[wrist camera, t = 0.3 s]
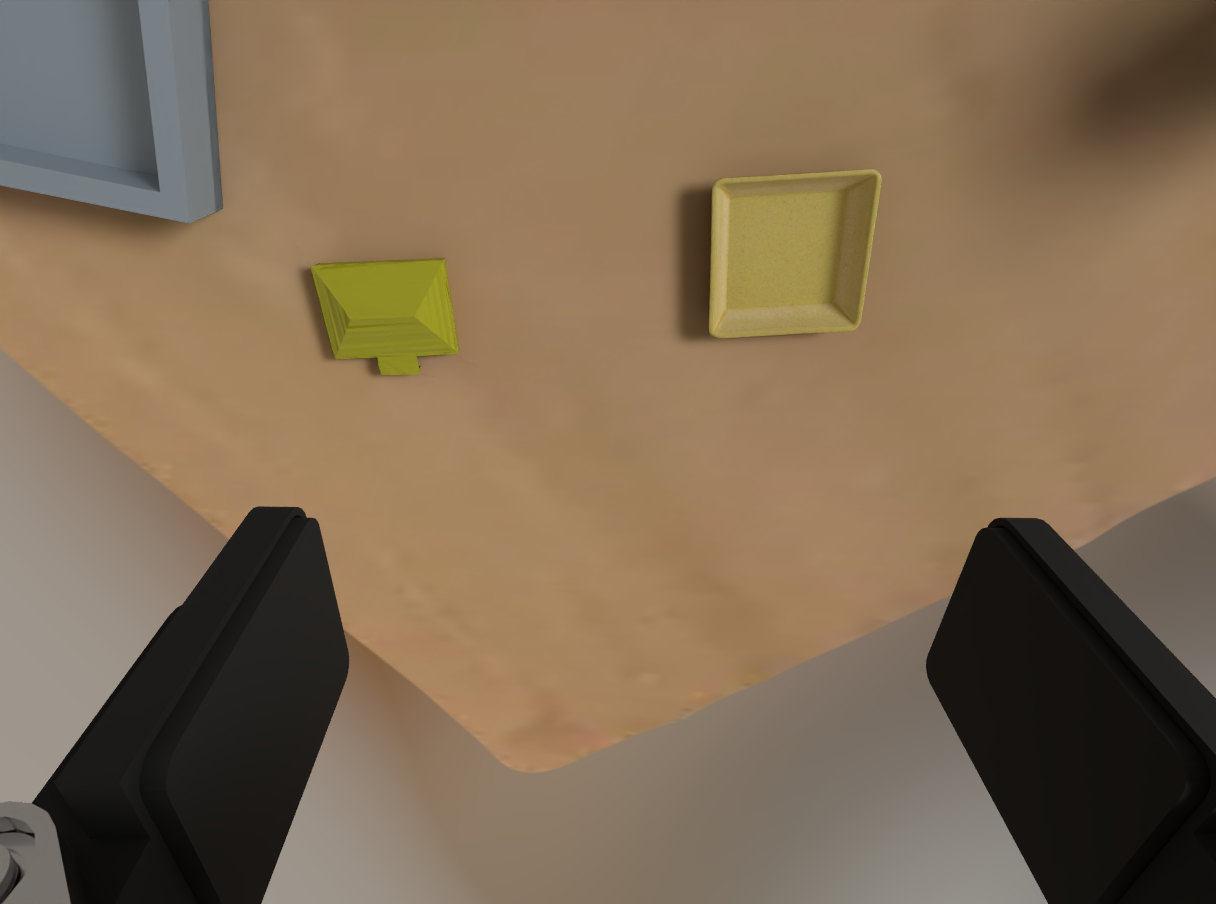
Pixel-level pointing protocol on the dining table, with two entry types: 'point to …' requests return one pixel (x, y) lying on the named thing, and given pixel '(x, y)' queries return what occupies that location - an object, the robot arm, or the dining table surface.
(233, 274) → the dining table surface
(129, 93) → the tray
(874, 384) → the dining table surface
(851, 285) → the yellow shallow rimmed piece
